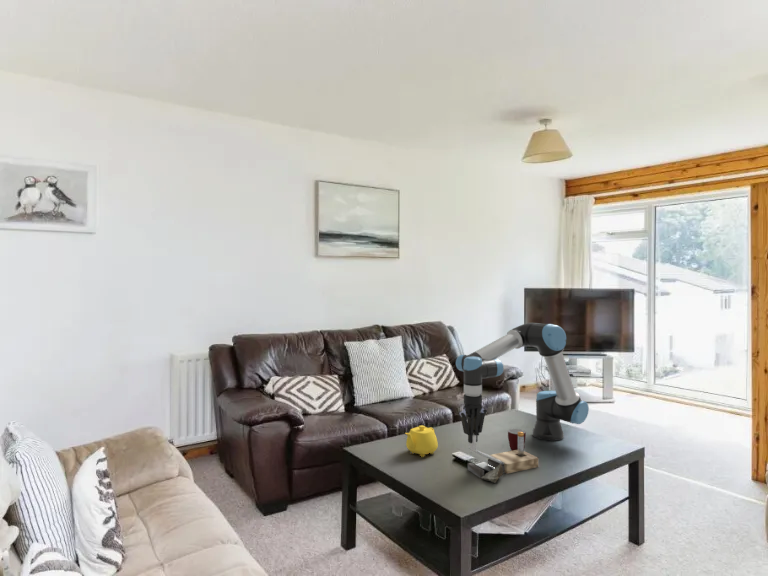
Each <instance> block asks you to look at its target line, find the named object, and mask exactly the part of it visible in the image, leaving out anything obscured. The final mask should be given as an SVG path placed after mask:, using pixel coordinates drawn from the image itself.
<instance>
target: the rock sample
mask: <svg viewBox="0 0 768 576" xmlns="http://www.w3.org/2000/svg"><path fill="white" fill-rule="evenodd" d="M502 468H503V467H502V465H501V464H499V465H498V467H496V468H495V469H492V470H489V471H488V472H486V473H484V476H482V477H481V479H482V480H483V481H487V482H488V481H489V482H491V483H493V484H496V483H497V482H498V481H499V479H500V478H501V477H502V476H503V474H504V473H503V470H502Z"/></svg>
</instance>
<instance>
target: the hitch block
mask: <svg viewBox="0 0 768 576" xmlns="http://www.w3.org/2000/svg"><path fill="white" fill-rule="evenodd" d="M490 455H491V456H493V457H495V458H496V459H498V460H500V461H502V462H504V463H505V464H504V465H502V464H501V465H502V467H503V468H502V470H503V474H511V473H516V472H521V471H526V470H532V469H535V468H539V457H537V456H536V455H534V454H531V453H529V452H527V451H525V450H524V456H523V457H519V456H518V450H513V451H511V450H508V451H503V452H498V453H493V454H490ZM488 464H489V465H491V466H493V467H495V468H496V467H498V465H499V464H500V463H498V462H496V461H493V460H491V459H489V458H487V465H488ZM467 471H469V472H470V473H472V474H473V475H475V476H476V477H478V478H481V479H482V476H484V475H485V470H484V469H483V468H481V466H478V465H476V464H474V463H473V462H467Z"/></svg>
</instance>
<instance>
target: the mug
mask: <svg viewBox="0 0 768 576" xmlns="http://www.w3.org/2000/svg"><path fill="white" fill-rule="evenodd" d="M518 432H524V449H525V445H526V444H525V443H526V440H527V439H526V438H527V435H526V433H527V431H525V430H524V429H520V428H510V429H508V430H507V438H508V444H509V448H510V451H513V450H518Z"/></svg>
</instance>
